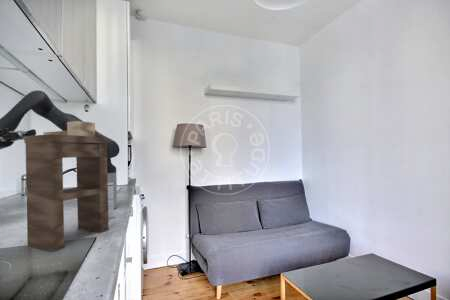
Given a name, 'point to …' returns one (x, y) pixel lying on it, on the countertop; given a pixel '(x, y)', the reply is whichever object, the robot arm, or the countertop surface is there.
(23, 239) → the countertop surface
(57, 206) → the shelf
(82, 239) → the countertop surface
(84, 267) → the countertop surface
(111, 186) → the syrup box
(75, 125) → the mallet
